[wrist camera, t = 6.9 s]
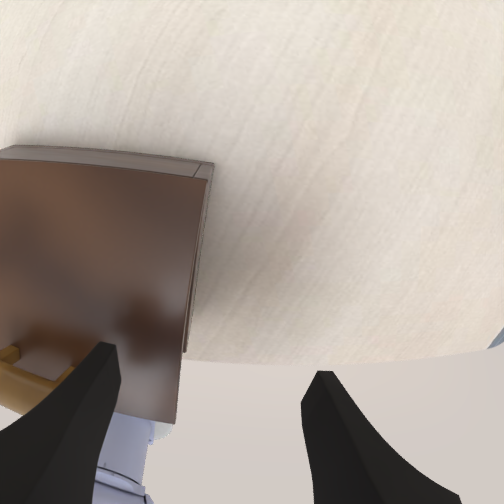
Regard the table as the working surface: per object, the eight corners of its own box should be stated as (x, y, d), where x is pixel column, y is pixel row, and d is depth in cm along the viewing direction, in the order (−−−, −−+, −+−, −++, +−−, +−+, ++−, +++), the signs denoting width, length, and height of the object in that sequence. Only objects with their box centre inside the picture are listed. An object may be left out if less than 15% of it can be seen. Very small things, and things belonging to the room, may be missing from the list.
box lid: (176, 417, 14) (165, 481, 9) (-33, 350, 12) (-79, 374, 7) (207, 183, 13) (204, 155, 9) (-24, 160, 12) (-77, 144, 7)
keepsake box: (192, 314, 22) (186, 353, 18) (26, 279, 20) (2, 307, 16) (214, 163, 17) (208, 179, 13) (13, 144, 15) (-23, 157, 12)
